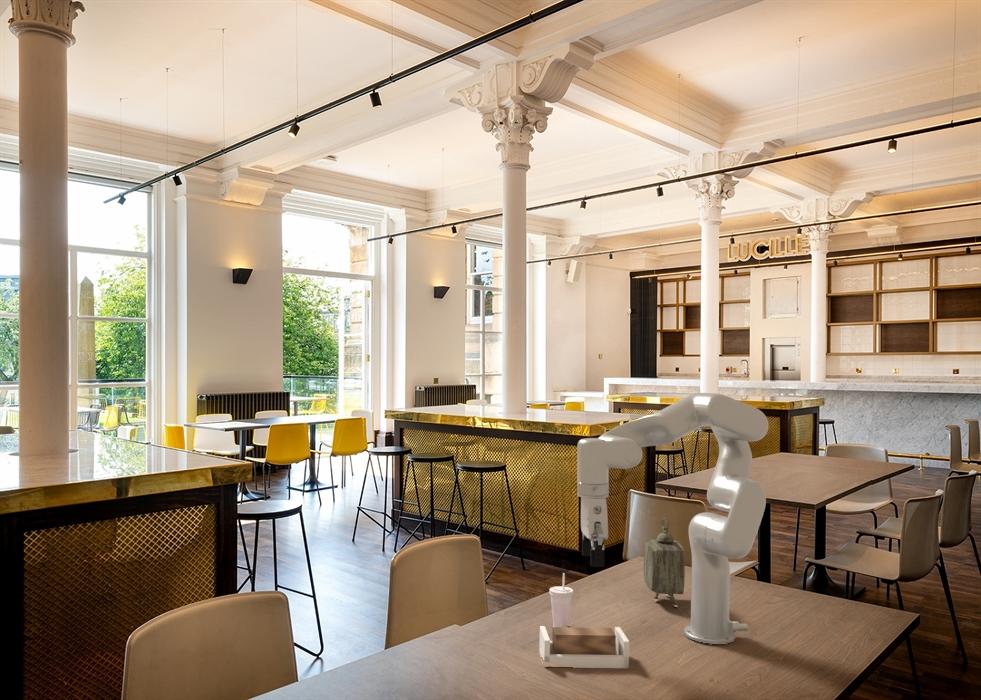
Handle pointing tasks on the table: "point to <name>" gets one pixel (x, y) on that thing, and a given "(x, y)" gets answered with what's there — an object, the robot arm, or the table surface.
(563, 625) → the smoothie
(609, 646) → the plank
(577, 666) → the frame
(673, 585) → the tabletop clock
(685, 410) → the robot arm
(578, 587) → the table surface
